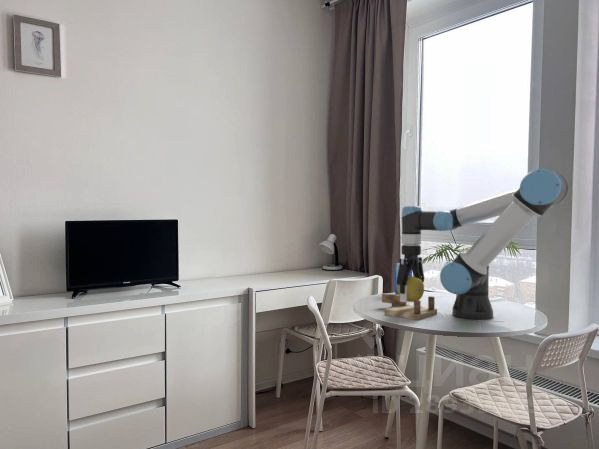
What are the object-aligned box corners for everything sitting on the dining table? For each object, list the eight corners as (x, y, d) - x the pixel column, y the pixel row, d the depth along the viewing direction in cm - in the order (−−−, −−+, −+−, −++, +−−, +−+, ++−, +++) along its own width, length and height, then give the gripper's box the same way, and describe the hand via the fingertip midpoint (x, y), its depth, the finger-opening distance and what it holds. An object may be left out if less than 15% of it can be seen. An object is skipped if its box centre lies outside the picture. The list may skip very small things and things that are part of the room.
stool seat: (437, 314, 185) (437, 296, 185) (418, 320, 174) (418, 301, 174) (403, 309, 196) (403, 292, 195) (384, 314, 185) (384, 297, 184)
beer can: (401, 294, 235) (401, 262, 235) (415, 296, 229) (415, 263, 229) (391, 295, 230) (391, 263, 230) (405, 298, 224) (405, 264, 223)
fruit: (429, 301, 185) (429, 276, 184) (412, 304, 178) (412, 278, 178) (408, 298, 192) (408, 274, 192) (391, 300, 186) (391, 276, 185)
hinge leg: (407, 304, 194) (407, 292, 193) (404, 305, 192) (404, 293, 192) (384, 301, 200) (384, 290, 200) (381, 302, 198) (382, 291, 198)
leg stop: (401, 307, 199) (401, 300, 199) (399, 308, 198) (399, 301, 198) (393, 306, 202) (393, 299, 202) (391, 306, 201) (391, 300, 201)
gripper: (416, 243, 196) (416, 295, 196) (387, 245, 179) (387, 302, 179) (433, 244, 191) (432, 297, 191) (404, 246, 174) (404, 305, 174)
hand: (410, 300), depth 185 cm, fingers closed on fruit, 11 cm apart
